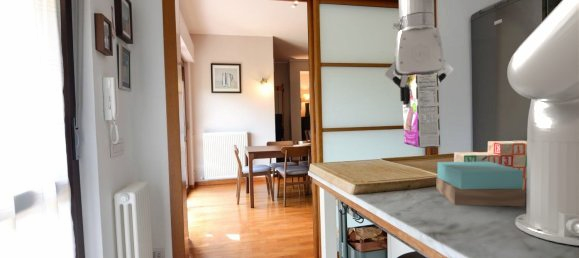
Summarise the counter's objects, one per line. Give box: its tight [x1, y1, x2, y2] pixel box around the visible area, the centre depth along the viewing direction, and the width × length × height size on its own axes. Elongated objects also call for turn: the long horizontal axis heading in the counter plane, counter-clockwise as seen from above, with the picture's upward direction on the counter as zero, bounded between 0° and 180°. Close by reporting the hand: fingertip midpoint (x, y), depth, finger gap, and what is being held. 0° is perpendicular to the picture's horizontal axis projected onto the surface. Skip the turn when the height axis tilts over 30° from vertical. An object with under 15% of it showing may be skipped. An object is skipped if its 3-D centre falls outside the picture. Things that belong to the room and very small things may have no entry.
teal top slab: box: [436, 161, 524, 190], centre depth 75 cm, size 13×13×4 cm
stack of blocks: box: [453, 140, 527, 190], centre depth 84 cm, size 21×6×12 cm, turn 84°
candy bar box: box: [401, 72, 441, 149], centre depth 73 cm, size 11×5×16 cm, turn 176°
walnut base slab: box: [435, 175, 526, 207], centre depth 75 cm, size 14×14×4 cm
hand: (419, 103), depth 73 cm, fingers closed on candy bar box, 5 cm apart
